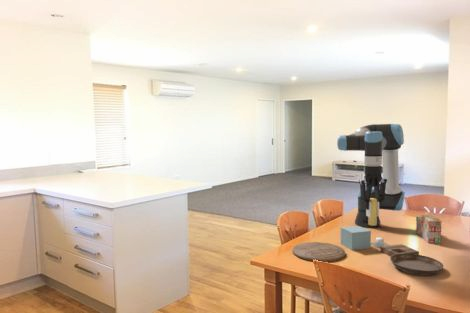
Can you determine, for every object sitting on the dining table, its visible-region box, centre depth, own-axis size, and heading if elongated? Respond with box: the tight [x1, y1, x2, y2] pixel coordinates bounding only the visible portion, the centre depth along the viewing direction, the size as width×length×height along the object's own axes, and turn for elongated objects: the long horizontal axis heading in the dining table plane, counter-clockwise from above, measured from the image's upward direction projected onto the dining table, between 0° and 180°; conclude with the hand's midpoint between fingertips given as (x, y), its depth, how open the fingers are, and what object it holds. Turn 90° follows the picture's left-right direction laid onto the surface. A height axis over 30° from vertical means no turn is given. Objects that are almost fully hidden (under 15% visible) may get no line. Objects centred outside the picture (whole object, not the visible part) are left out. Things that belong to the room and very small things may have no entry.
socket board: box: [379, 243, 420, 257], centre depth 178 cm, size 12×12×2 cm
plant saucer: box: [389, 254, 444, 276], centre depth 160 cm, size 21×21×3 cm
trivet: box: [292, 241, 346, 263], centre depth 181 cm, size 25×25×2 cm
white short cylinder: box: [371, 237, 390, 249], centre depth 191 cm, size 8×8×4 cm
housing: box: [340, 225, 372, 251], centre depth 191 cm, size 11×11×9 cm
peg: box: [368, 198, 377, 226], centre depth 171 cm, size 4×4×12 cm
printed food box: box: [415, 214, 443, 244], centre depth 204 cm, size 21×6×12 cm, turn 170°
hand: (372, 215), depth 171 cm, fingers closed on peg, 3 cm apart
